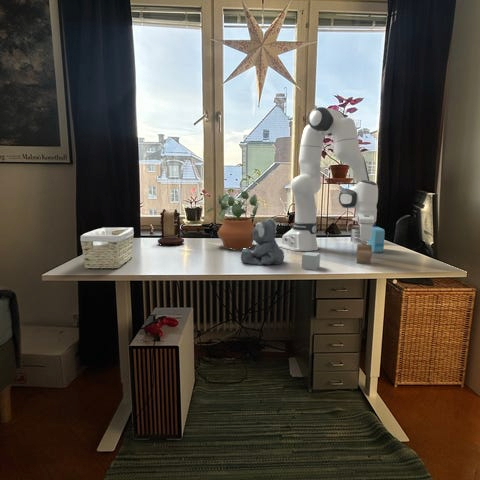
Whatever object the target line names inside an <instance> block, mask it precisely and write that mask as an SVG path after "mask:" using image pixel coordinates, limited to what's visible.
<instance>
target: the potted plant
mask: <svg viewBox="0 0 480 480" xmlns="http://www.w3.org/2000/svg"><path fill="white" fill-rule="evenodd" d="M240 196H241V198H238V197H237V198H234V197H233V196H232V195H229V193H225V194H224V195H223V196H222V197H221V195H220V194H218V197H217V198H218V199H217V200H218V204H219V206H220V212H219V211H218V210H216V212H217V213H219V214H218V217H219V219H223V222H222V225H221V226H220V228H219V229H218V230H217V236H218V238H219V239H220V240H221V242H222V245H223V246H224V247H226V248H225V249H227V248H232V249H231V250H243V248H248V249H250V248H249V247H251V246H252V247H253V242H254V239H253V237H252V236H251V233H252V232H253V231H254V229H255V227H256V226H254V224H253V220H252V218H249V217H241V216H242V215H243V214H246V213H247V210H248V209H250V207H248V206H249V205H250V206H252V207H253V209H252V214H253V216H256V214H257V211H258V208H259V202H258V198H257V195H256V194H255V193H254V194H253V195H252V196H249V193H248V192H247V191H241V192H240ZM242 199H244V201H243V202H242ZM248 199H249V200H248ZM247 200H248V201H249V204H248V205H245V207H244V208H242V207H243V206H244V204H245V202H246V201H247ZM230 207H231V212H229V211H228V209H230ZM247 207H248V208H247ZM215 208H216V205H215V206H213V207H211V208H210V209H208V210H207V211H206V213H209V212H211V211H213V210H215ZM246 208H247V209H246ZM227 212H228V213H230V214H232V216H231V215H229V217H227V216H226V214H228V213H227ZM224 217H225V218H224ZM224 247H223V248H224ZM252 247H251V248H252Z"/></svg>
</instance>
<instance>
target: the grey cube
mask: <svg viewBox="0 0 480 480" xmlns="http://www.w3.org/2000/svg"><path fill="white" fill-rule="evenodd" d="M320 262H321V253H319V252H311V251H305V252H304V253H302V254H301V269H303V270H305V269H306V270H313V271H317V270H318V268H320V267H321V265H320V264H321V263H320Z"/></svg>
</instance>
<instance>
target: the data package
mask: <svg viewBox="0 0 480 480" xmlns="http://www.w3.org/2000/svg"><path fill="white" fill-rule="evenodd" d="M385 232H386V231H385V229H384V228H381V227H379V226H372V232H371V237H370V240H369V241H367V245H372V253H377V254H378V253H382V254H383V253H384V248H385V247H384V246H385V234H386V233H385Z"/></svg>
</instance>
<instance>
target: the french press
mask: <svg viewBox="0 0 480 480" xmlns="http://www.w3.org/2000/svg"><path fill="white" fill-rule="evenodd" d="M355 219H356V216H355V217H353V218H351V220H352V221H349V222H348V223H347V225H346V227H349V226H350V224H351V225H352V228H351V233H350V232H349V228H346V232H347V233H348V234H349V235H350V241H349V242H348V243H349V244H351V243H352V244H351V245H357V244H362V241H361V236H360V225H358V224H357V225H355V224H354V222H353V221H355V222H357V221H356V220H355ZM366 245H368V242H367V243H366Z"/></svg>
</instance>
